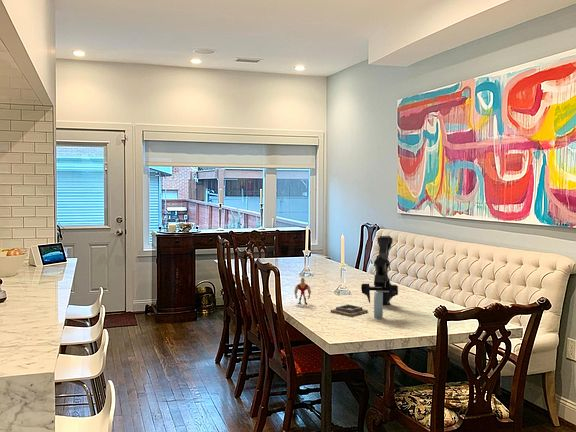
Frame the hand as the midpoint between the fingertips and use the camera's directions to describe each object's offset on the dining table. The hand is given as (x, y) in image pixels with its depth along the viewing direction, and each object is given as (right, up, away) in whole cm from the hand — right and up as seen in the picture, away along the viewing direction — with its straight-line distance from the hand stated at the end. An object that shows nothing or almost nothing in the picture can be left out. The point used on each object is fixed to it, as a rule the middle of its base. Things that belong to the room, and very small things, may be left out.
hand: (378, 302), depth 291 cm
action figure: (-38, -6, +33) cm, 51 cm away
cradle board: (-14, -7, +12) cm, 20 cm away
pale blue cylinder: (0, -8, +1) cm, 8 cm away
